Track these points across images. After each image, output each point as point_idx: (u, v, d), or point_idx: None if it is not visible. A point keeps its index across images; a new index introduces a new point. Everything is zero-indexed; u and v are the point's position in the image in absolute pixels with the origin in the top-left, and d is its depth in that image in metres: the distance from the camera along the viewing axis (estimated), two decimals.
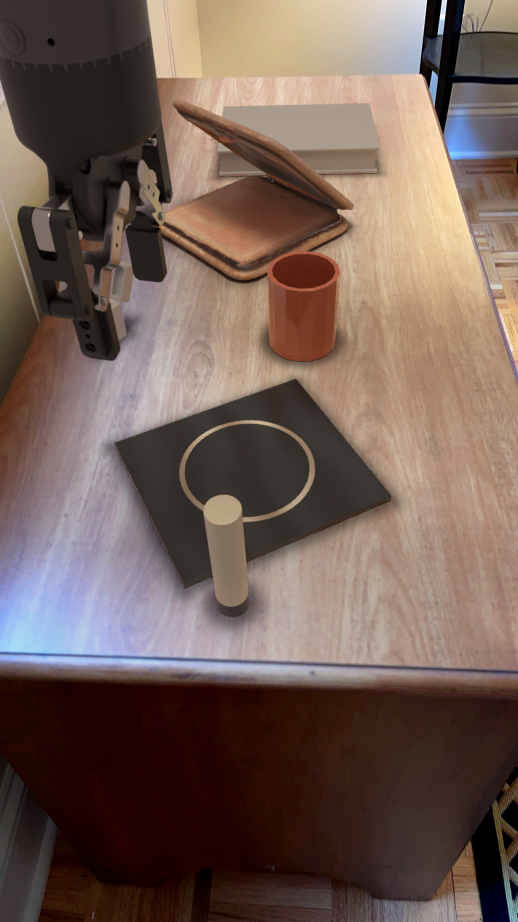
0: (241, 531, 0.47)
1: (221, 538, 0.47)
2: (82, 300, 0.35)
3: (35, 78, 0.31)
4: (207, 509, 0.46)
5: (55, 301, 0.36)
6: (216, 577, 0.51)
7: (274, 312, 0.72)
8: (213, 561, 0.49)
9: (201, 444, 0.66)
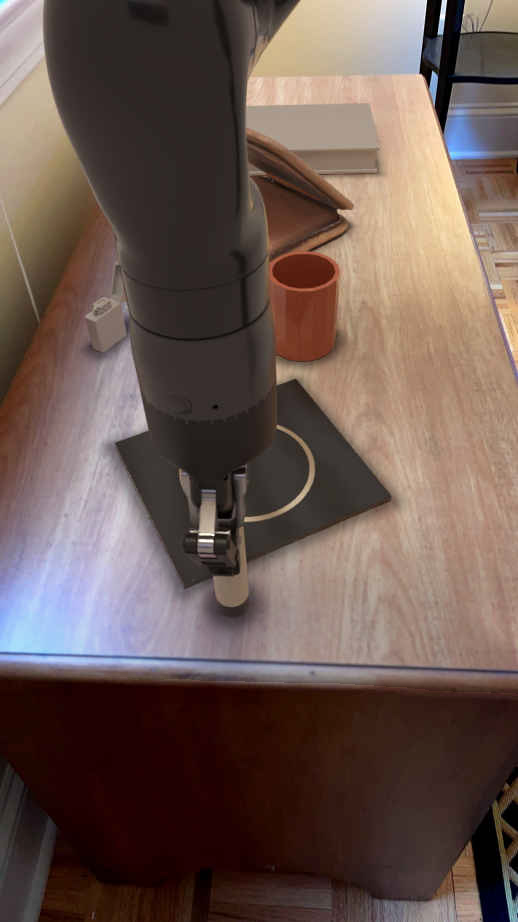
0: (241, 531, 0.47)
1: None
2: (233, 554, 0.43)
3: (195, 428, 0.35)
4: None
5: None
6: (216, 578, 0.51)
7: (274, 312, 0.72)
8: None
9: None
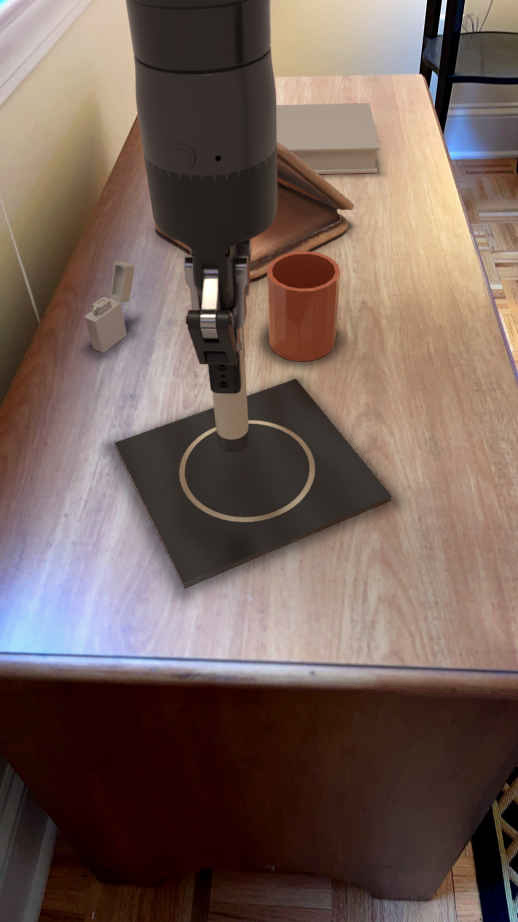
0: (242, 346, 0.49)
1: None
2: (235, 349, 0.44)
3: (199, 186, 0.37)
4: None
5: (210, 352, 0.44)
6: (217, 404, 0.52)
7: (274, 312, 0.72)
8: None
9: (201, 444, 0.66)
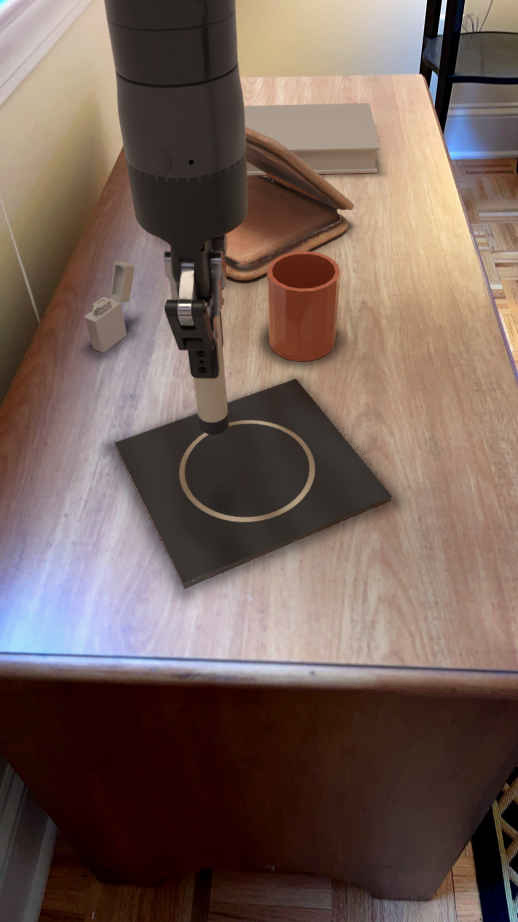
0: (219, 334, 0.53)
1: None
2: (211, 336, 0.48)
3: (174, 187, 0.41)
4: None
5: (188, 338, 0.48)
6: (197, 388, 0.56)
7: (274, 312, 0.72)
8: None
9: (201, 444, 0.66)
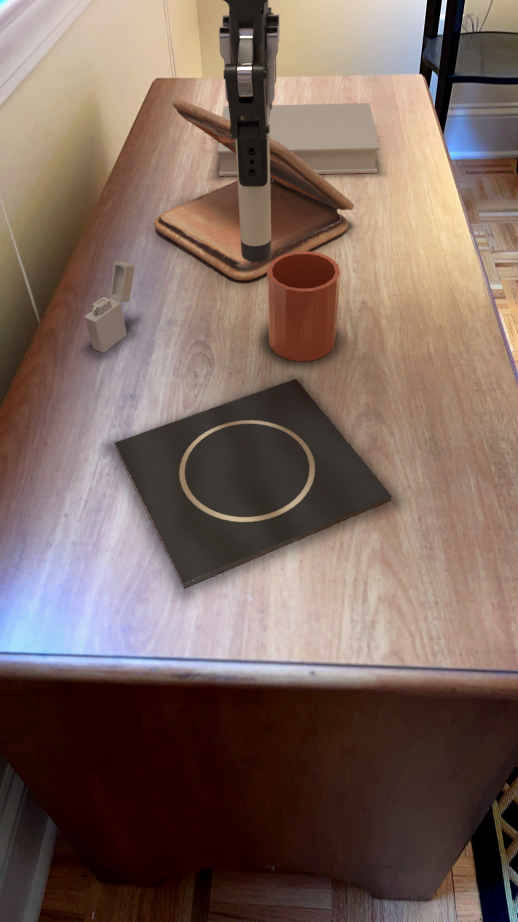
0: (268, 136, 0.52)
1: None
2: (266, 119, 0.47)
3: None
4: None
5: (242, 124, 0.48)
6: (243, 204, 0.55)
7: (274, 312, 0.72)
8: None
9: (201, 444, 0.66)
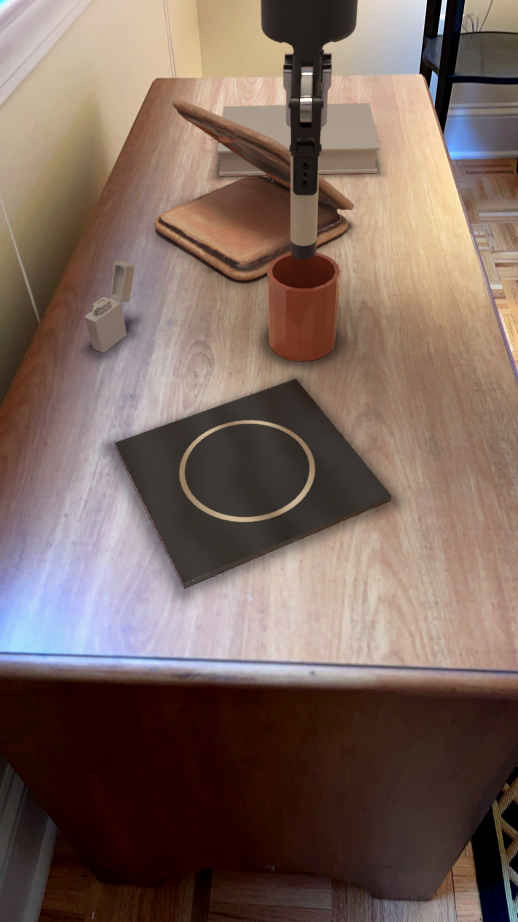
0: None
1: None
2: None
3: None
4: None
5: (300, 144, 0.57)
6: (294, 210, 0.65)
7: (274, 312, 0.72)
8: None
9: (201, 444, 0.66)
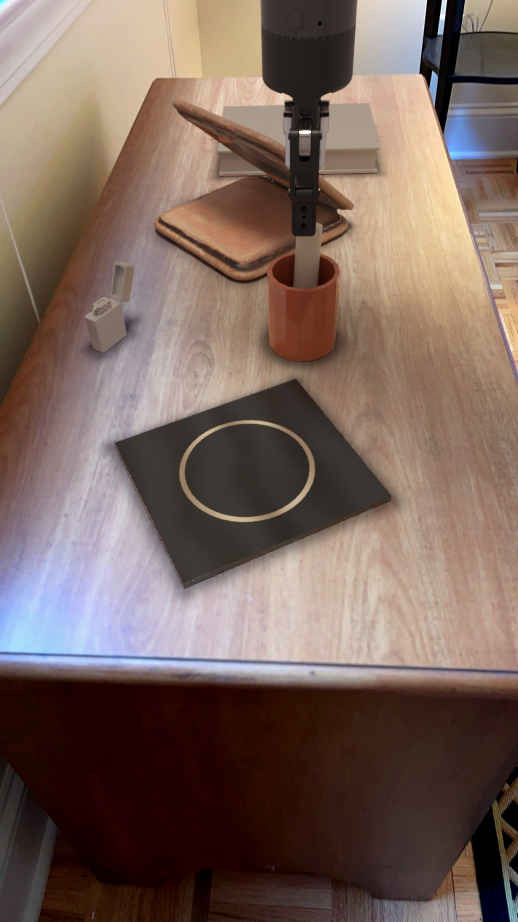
0: (320, 245, 0.71)
1: (308, 244, 0.70)
2: None
3: (304, 46, 0.52)
4: None
5: (299, 189, 0.58)
6: None
7: (274, 312, 0.72)
8: (297, 274, 0.72)
9: (201, 444, 0.66)
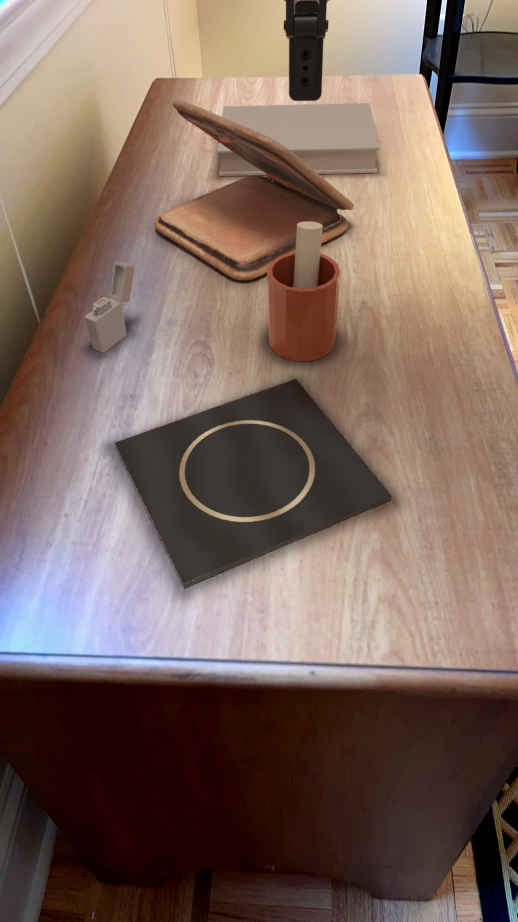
0: (320, 245, 0.71)
1: (308, 244, 0.70)
2: None
3: None
4: (299, 224, 0.70)
5: (299, 17, 0.41)
6: None
7: (274, 312, 0.72)
8: (297, 274, 0.72)
9: (201, 444, 0.66)
